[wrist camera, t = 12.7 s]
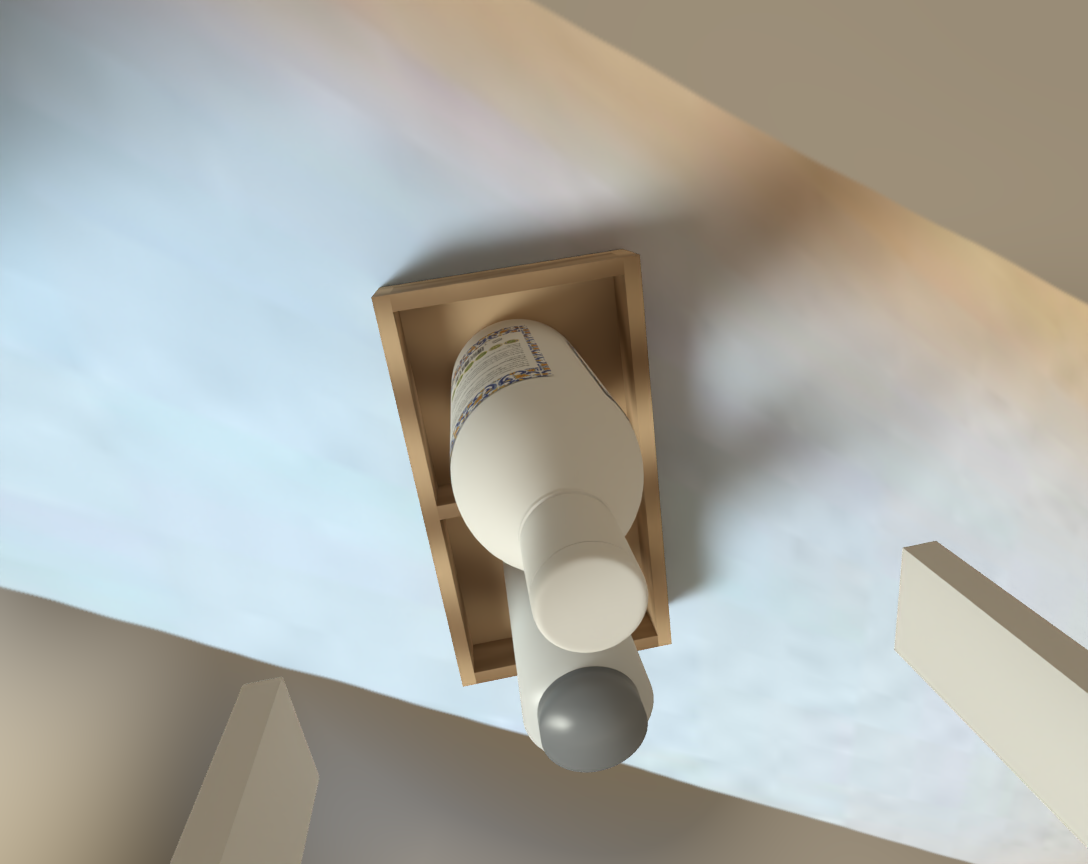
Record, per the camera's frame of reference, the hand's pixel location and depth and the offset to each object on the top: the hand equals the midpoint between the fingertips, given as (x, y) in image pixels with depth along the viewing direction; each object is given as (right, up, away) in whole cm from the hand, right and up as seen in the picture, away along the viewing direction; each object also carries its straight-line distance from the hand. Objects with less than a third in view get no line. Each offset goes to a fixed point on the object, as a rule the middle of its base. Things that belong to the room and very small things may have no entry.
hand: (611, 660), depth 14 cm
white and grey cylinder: (-1, -3, +25) cm, 25 cm away
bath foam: (-3, +8, +21) cm, 22 cm away
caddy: (-2, +3, +23) cm, 24 cm away
